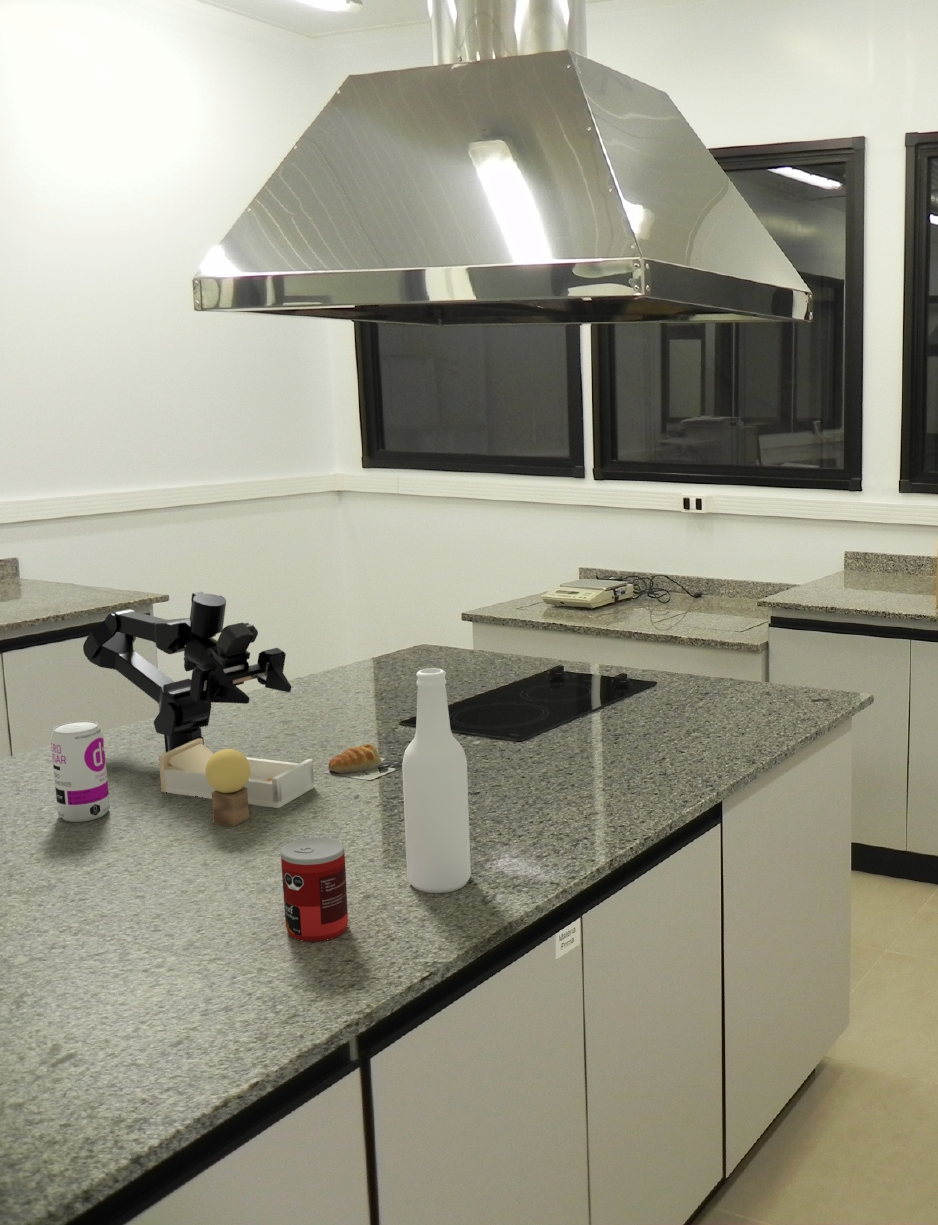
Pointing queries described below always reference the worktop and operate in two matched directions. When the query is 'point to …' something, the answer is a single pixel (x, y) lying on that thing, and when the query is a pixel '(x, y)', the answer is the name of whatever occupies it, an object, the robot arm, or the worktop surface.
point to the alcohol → (435, 794)
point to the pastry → (355, 759)
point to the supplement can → (80, 771)
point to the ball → (228, 771)
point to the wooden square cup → (230, 807)
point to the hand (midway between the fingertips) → (269, 695)
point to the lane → (264, 785)
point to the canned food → (314, 888)
